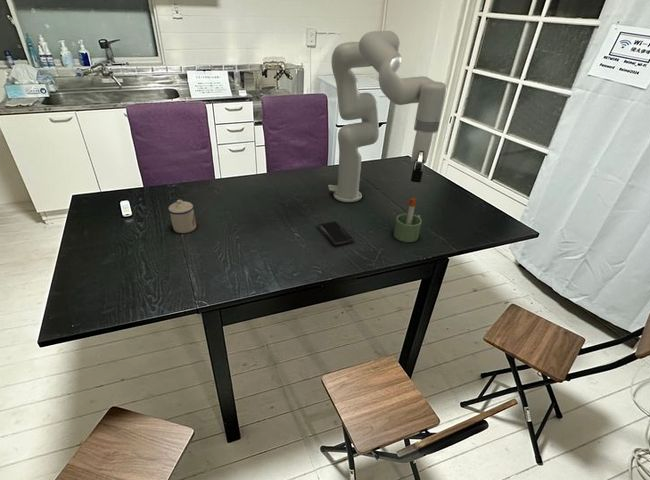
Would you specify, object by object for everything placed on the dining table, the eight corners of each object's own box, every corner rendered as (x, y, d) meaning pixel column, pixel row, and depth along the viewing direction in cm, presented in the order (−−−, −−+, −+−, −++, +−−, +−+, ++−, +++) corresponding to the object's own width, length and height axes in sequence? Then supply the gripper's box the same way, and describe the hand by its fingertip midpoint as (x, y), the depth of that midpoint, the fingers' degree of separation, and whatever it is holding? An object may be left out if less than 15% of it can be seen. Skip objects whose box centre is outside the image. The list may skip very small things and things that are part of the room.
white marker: (403, 235, 143) (410, 199, 134) (404, 232, 144) (410, 197, 136) (409, 235, 142) (416, 200, 134) (409, 233, 144) (416, 198, 135)
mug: (409, 245, 139) (412, 228, 135) (388, 235, 144) (391, 219, 140) (427, 233, 146) (430, 217, 141) (407, 224, 151) (410, 208, 147)
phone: (334, 243, 137) (318, 224, 148) (333, 246, 137) (318, 226, 148) (353, 239, 139) (336, 220, 150) (353, 242, 140) (336, 223, 151)
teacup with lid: (199, 230, 146) (194, 202, 139) (175, 236, 142) (169, 208, 135) (191, 217, 154) (186, 190, 147) (169, 222, 151) (162, 195, 144)
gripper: (416, 116, 127) (407, 165, 138) (412, 132, 114) (403, 184, 124) (439, 118, 126) (428, 168, 136) (438, 134, 113) (426, 187, 123)
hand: (416, 176), depth 130 cm, fingers open, 9 cm apart
